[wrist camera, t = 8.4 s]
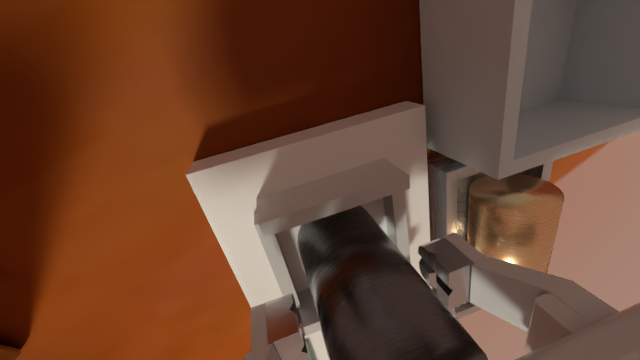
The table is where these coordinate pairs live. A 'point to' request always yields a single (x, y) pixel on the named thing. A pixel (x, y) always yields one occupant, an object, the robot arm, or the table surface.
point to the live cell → (514, 219)
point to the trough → (458, 203)
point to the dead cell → (375, 295)
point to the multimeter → (8, 353)
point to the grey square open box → (528, 79)
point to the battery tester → (315, 198)
